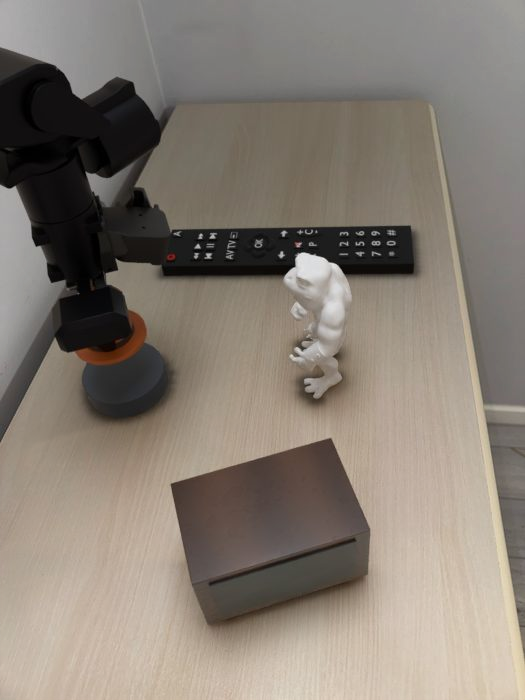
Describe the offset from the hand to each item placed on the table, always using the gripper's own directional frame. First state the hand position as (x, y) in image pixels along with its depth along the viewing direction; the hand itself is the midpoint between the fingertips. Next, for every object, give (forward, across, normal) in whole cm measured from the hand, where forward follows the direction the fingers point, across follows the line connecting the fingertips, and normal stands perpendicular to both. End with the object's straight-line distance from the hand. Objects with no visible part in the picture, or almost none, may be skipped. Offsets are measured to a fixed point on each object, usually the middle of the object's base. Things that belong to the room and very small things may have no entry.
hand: (107, 331), depth 69 cm
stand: (+9, 0, 0) cm, 9 cm away
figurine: (+9, -5, -21) cm, 23 cm away
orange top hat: (+1, 0, 0) cm, 1 cm away
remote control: (+9, +15, -23) cm, 29 cm away
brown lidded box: (+9, -24, -10) cm, 28 cm away
